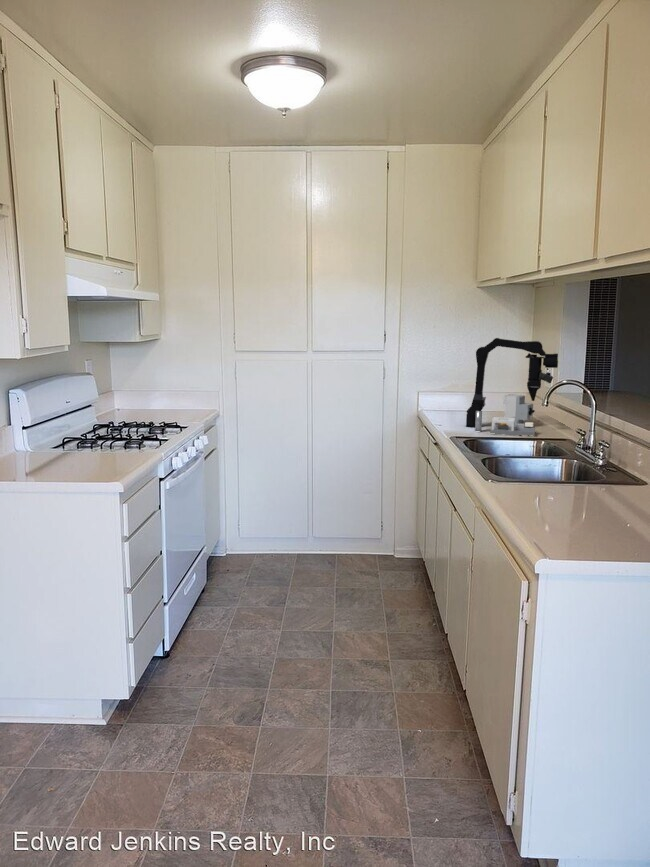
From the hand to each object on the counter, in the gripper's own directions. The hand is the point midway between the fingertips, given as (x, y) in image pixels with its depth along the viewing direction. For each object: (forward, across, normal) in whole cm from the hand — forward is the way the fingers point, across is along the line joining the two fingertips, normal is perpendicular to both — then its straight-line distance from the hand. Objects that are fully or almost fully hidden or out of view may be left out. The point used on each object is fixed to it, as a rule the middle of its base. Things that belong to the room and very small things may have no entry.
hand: (533, 399), depth 317 cm
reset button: (+12, -13, +13) cm, 22 cm away
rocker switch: (+11, -13, +1) cm, 17 cm away
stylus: (+15, -14, +24) cm, 32 cm away
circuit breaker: (+15, +9, +6) cm, 19 cm away
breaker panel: (+15, -13, +8) cm, 21 cm away
